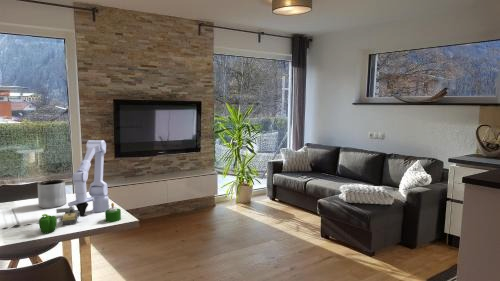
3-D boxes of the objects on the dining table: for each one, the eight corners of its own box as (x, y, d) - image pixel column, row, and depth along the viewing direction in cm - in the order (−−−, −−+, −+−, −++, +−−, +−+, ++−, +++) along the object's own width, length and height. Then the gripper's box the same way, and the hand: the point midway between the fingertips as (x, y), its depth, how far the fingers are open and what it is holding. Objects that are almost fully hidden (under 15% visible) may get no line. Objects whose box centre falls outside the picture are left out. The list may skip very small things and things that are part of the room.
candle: (123, 218, 213) (123, 201, 212) (115, 222, 205) (114, 205, 204) (111, 217, 215) (110, 200, 214) (102, 221, 207) (101, 204, 206)
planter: (35, 209, 230) (33, 185, 228) (43, 202, 246) (41, 180, 244) (63, 207, 234) (61, 184, 232) (69, 201, 249) (67, 178, 248)
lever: (74, 211, 216) (73, 207, 216) (56, 213, 213) (56, 209, 213) (74, 210, 219) (74, 206, 219) (57, 211, 216) (56, 208, 216)
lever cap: (75, 215, 210) (75, 212, 209) (74, 219, 203) (74, 215, 203) (64, 216, 207) (64, 213, 207) (62, 220, 201) (62, 217, 201)
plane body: (66, 214, 219) (65, 210, 219) (78, 213, 222) (78, 209, 221) (61, 225, 201) (61, 221, 200) (76, 223, 203) (75, 219, 203)
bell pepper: (54, 227, 197) (52, 209, 196) (59, 231, 191) (58, 213, 190) (36, 232, 191) (35, 213, 190) (42, 235, 185) (40, 216, 184)
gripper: (88, 189, 214) (90, 211, 216) (64, 194, 202) (66, 218, 204) (95, 190, 210) (97, 213, 212) (71, 196, 198) (73, 220, 200)
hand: (82, 215), depth 208 cm, fingers closed
